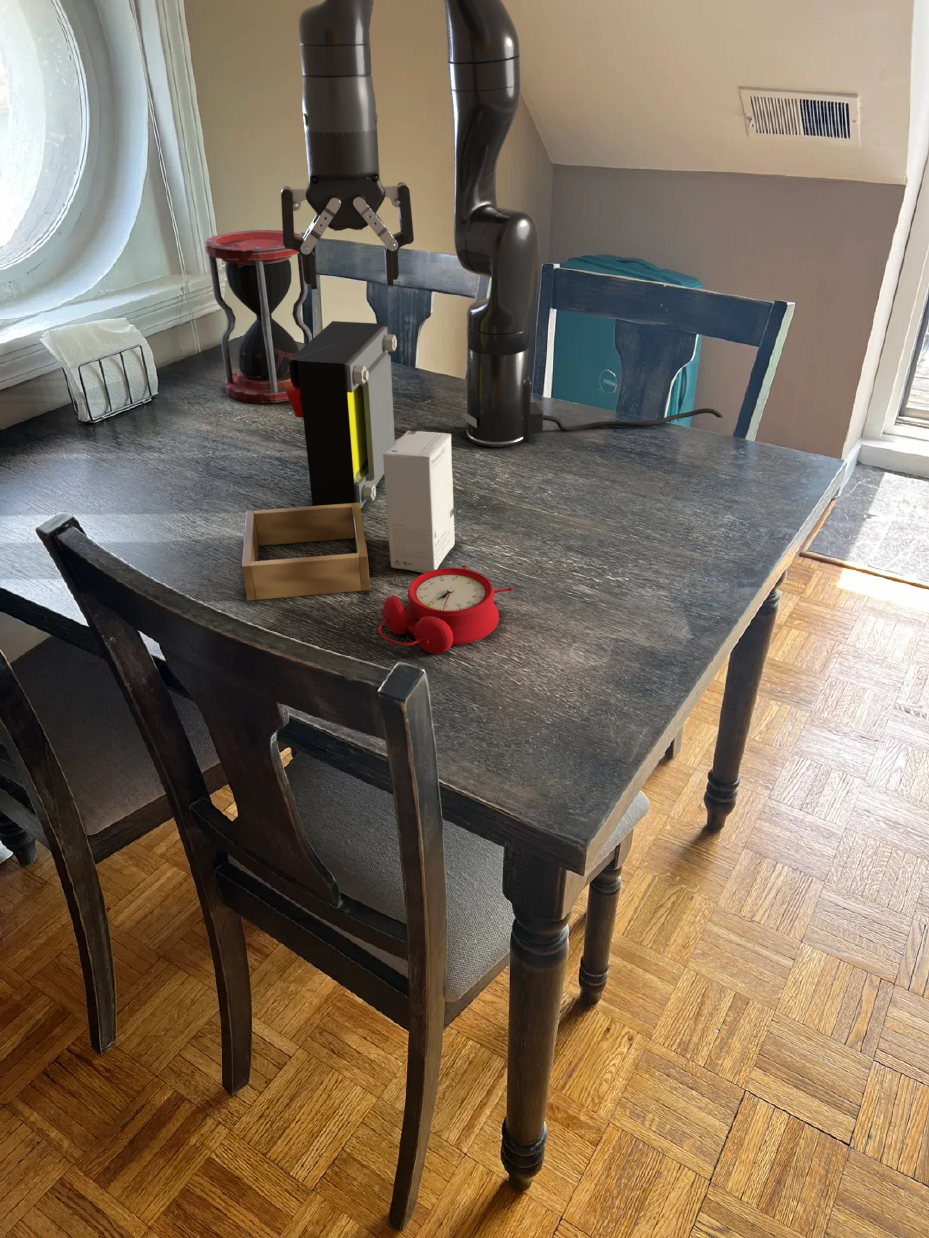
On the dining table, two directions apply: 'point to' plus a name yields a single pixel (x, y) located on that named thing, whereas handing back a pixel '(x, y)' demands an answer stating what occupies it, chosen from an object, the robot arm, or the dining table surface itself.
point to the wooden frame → (306, 571)
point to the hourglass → (258, 311)
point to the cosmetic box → (419, 500)
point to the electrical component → (345, 409)
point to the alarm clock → (444, 609)
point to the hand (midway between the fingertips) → (351, 286)
